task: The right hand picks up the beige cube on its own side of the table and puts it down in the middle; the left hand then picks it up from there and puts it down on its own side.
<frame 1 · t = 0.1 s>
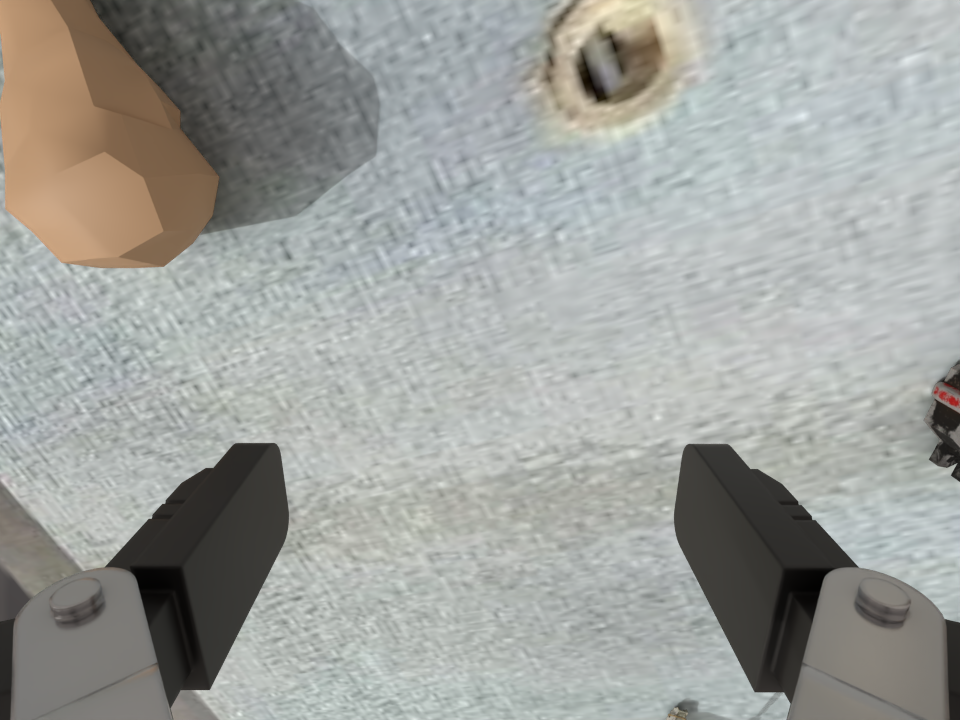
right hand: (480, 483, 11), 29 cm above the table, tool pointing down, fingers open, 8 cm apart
squash: (116, 108, 36), on the table
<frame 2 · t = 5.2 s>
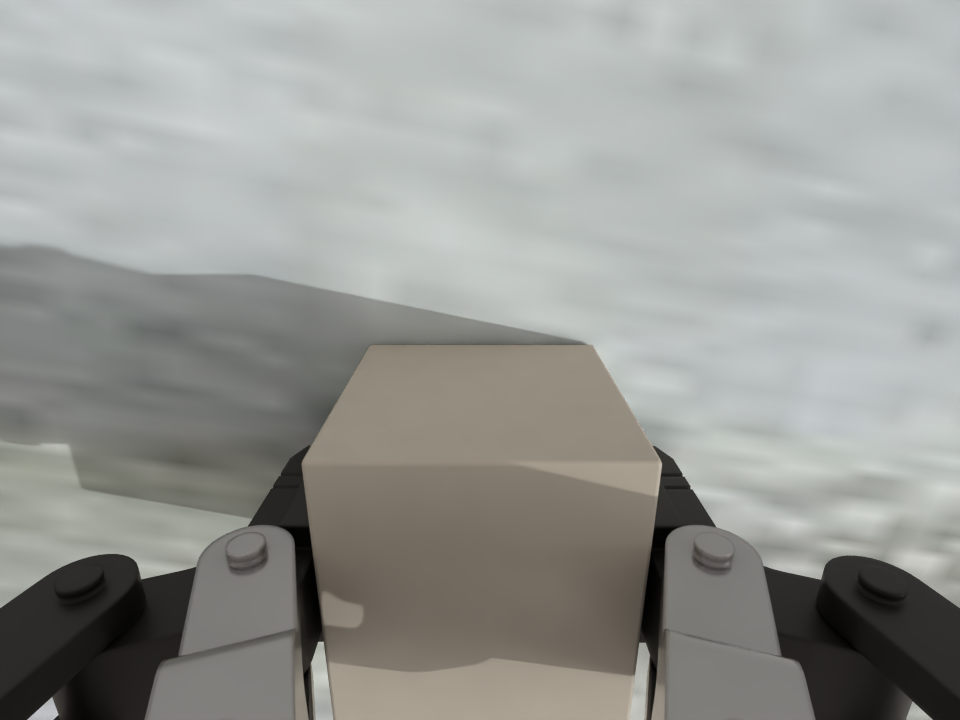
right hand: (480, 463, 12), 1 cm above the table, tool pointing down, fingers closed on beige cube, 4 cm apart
beige cube: (481, 450, 12), on the table, touching right hand
when the right hand's fingers open (1 cm above the table, at t = 12.9 s): beige cube stays where it is, on the table.
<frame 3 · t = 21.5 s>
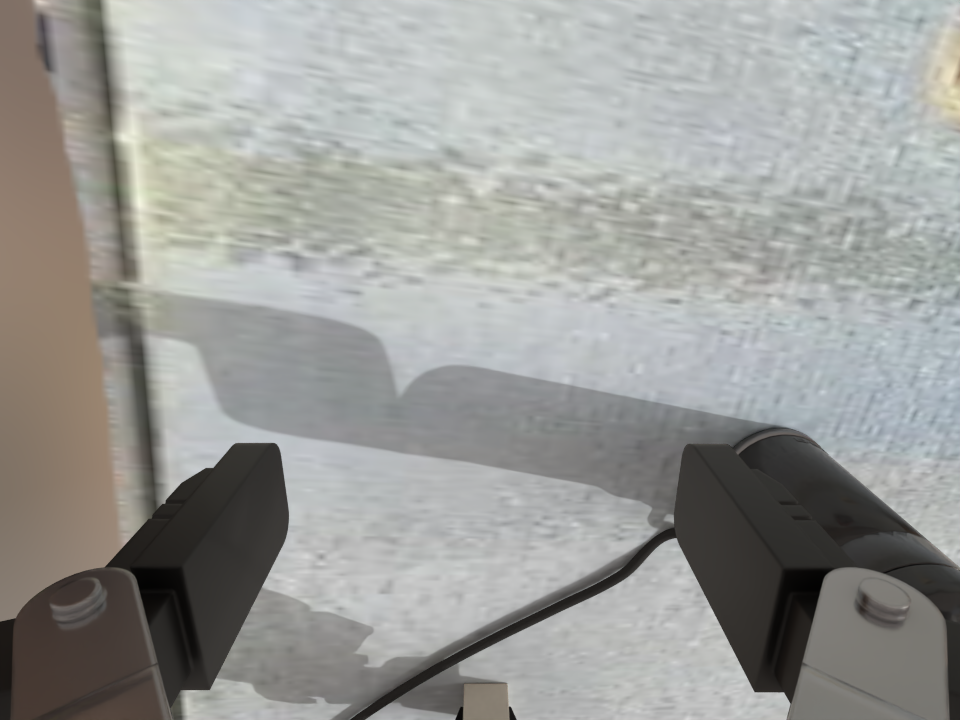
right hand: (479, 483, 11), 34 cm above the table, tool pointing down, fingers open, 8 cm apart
beige cube: (485, 700, 60), on the table, touching left hand
when the left hand's fingers open (2 cm above the table, at t = 26.6 s): beige cube stays where it is, on the table.
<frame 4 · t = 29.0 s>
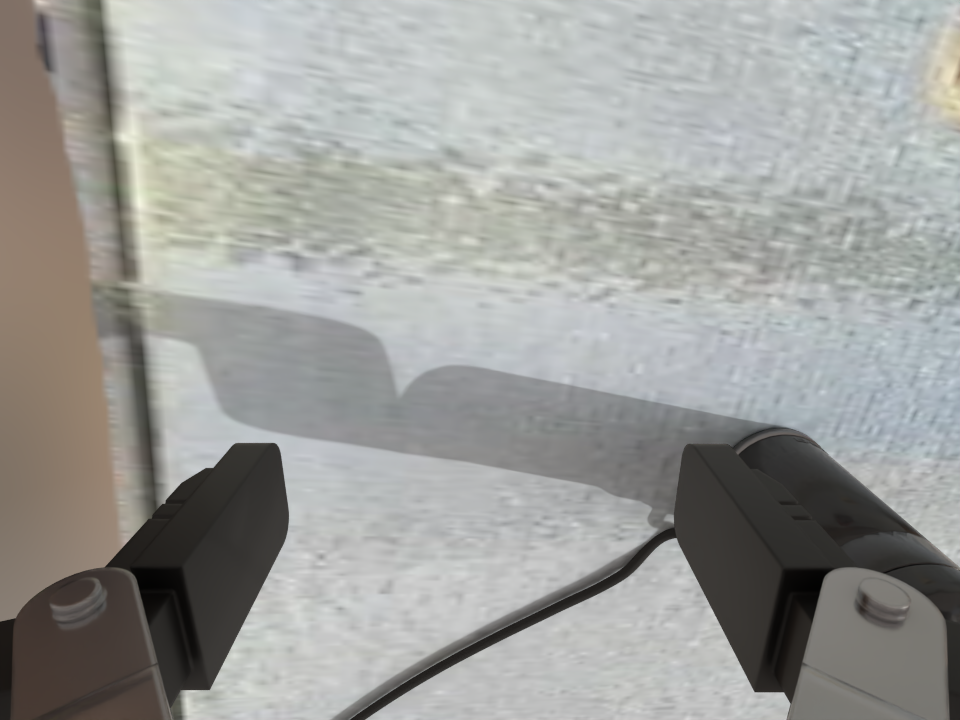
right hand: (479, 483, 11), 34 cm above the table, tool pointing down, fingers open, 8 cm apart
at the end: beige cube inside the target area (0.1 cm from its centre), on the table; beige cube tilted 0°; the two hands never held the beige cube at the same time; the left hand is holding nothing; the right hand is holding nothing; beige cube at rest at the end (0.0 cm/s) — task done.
